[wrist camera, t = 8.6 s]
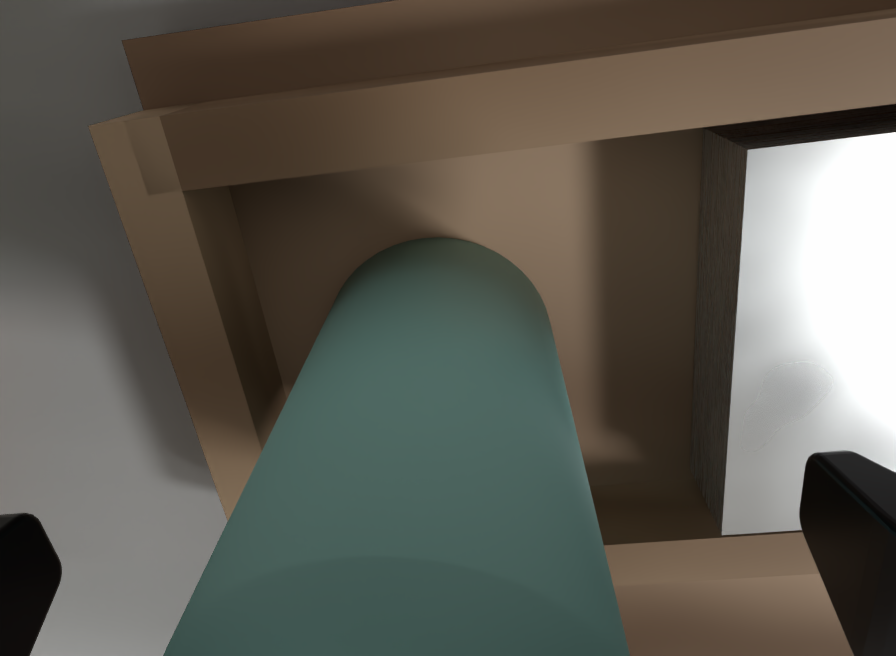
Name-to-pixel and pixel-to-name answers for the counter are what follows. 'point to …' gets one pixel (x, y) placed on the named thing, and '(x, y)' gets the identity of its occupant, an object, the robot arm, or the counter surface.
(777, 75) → the housing board
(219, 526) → the counter surface
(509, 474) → the teal peg
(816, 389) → the cover slide
